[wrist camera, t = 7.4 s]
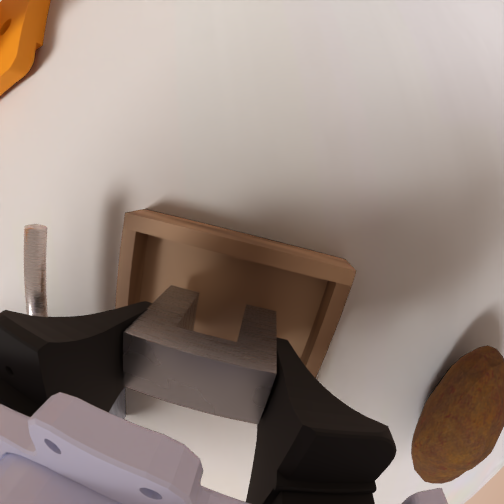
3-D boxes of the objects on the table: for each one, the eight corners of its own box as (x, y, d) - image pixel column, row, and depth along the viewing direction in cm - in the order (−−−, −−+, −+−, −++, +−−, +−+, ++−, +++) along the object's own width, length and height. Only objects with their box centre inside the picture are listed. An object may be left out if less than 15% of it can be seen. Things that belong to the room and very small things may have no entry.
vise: (55, 386, 18) (15, 427, 12) (46, 206, 15) (-27, 218, 9) (126, 422, 18) (93, 475, 12) (135, 230, 14) (63, 255, 9)
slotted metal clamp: (165, 328, 14) (123, 385, 9) (170, 285, 13) (123, 332, 8) (263, 354, 14) (258, 424, 9) (276, 311, 13) (276, 373, 8)
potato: (390, 456, 17) (411, 521, 10) (402, 344, 15) (455, 421, 8) (460, 430, 16) (490, 483, 9) (487, 315, 14) (551, 365, 7)
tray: (129, 346, 16) (114, 364, 14) (144, 209, 14) (125, 212, 12) (296, 392, 16) (297, 415, 14) (345, 259, 14) (356, 271, 12)
